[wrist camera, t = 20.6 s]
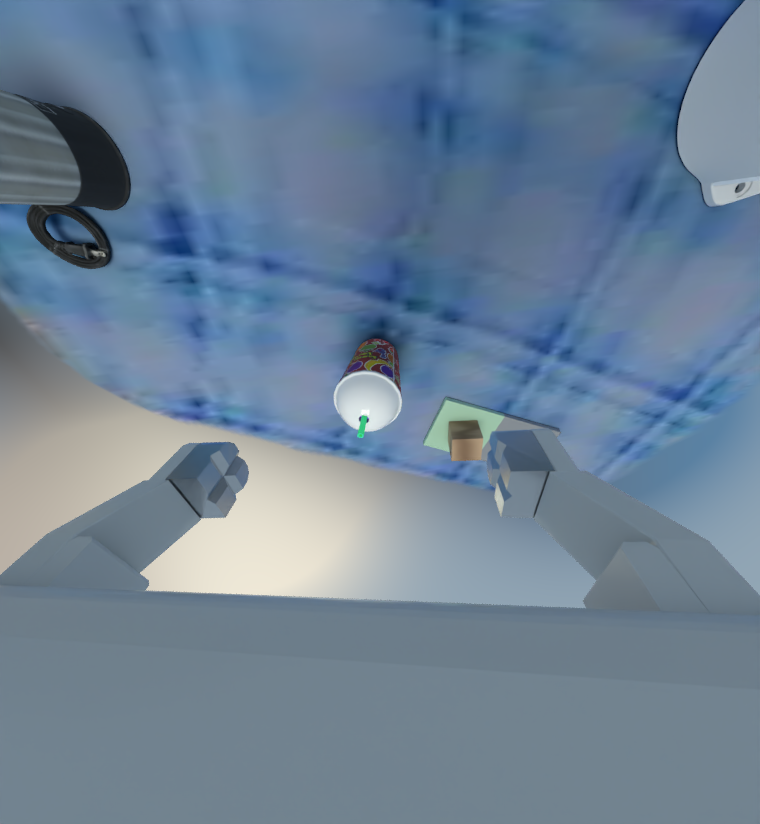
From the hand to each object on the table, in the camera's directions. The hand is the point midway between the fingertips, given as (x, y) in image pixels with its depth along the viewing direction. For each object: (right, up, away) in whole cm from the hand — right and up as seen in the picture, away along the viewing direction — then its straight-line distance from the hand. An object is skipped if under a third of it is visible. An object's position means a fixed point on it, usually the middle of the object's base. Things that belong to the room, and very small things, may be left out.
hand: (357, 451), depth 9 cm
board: (+21, -3, +43) cm, 49 cm away
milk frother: (-36, +29, +27) cm, 54 cm away
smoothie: (0, +11, +36) cm, 37 cm away
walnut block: (+16, -2, +42) cm, 45 cm away
